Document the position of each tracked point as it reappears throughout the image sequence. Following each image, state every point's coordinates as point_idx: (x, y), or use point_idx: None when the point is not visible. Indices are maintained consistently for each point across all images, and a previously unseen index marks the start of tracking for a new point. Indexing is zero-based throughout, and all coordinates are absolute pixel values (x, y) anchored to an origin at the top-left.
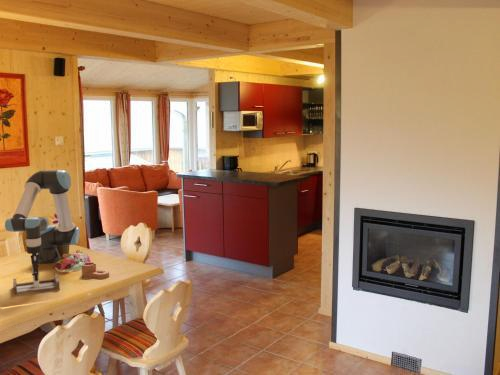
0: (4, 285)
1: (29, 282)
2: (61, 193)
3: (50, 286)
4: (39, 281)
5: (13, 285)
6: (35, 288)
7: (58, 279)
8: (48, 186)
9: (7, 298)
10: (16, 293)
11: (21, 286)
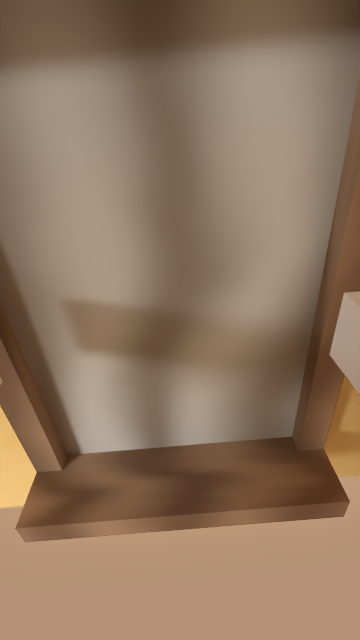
0: (7, 507)
1: (7, 389)
2: None
3: (198, 103)
4: None
5: (262, 521)
6: (206, 311)
7: None
8: None
9: (339, 466)
10: (320, 445)
11: (85, 426)
